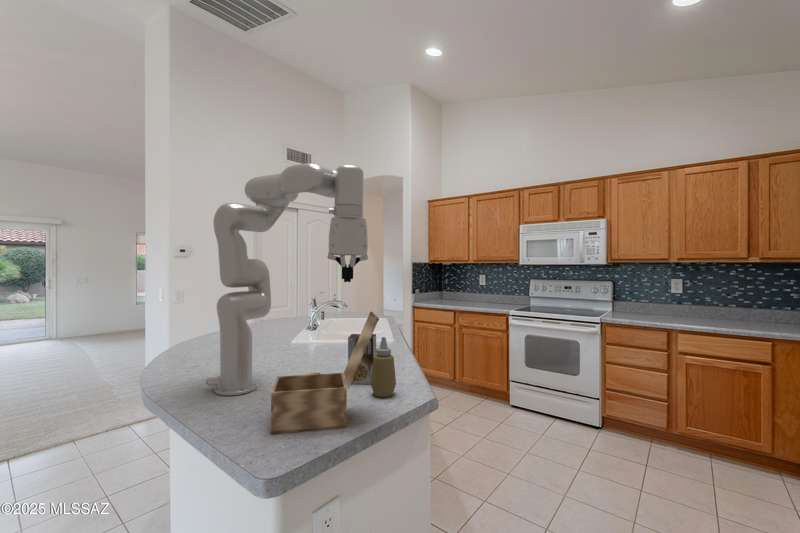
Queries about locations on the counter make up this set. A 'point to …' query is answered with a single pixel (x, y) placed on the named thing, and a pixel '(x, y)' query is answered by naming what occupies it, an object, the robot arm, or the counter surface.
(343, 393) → the carton
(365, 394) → the counter surface
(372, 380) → the squeeze bottle
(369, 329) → the carton flap
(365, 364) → the grey upright box
